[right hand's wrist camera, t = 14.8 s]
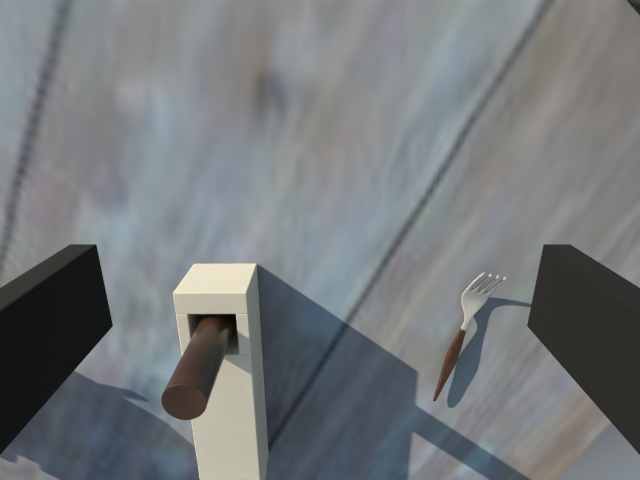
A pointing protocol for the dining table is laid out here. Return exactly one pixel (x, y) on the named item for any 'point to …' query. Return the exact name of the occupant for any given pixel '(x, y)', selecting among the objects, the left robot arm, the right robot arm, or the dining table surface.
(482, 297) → the fork
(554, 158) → the dining table surface
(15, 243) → the dining table surface
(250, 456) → the peg block
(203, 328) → the walnut peg
